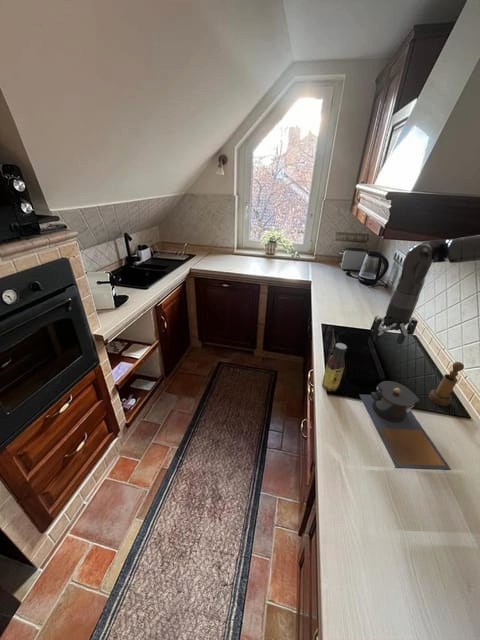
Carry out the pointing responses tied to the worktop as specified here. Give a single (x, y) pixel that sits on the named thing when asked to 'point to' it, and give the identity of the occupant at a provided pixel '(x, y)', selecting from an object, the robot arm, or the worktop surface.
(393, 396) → the pot
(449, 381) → the wooden pepper mill
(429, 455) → the mat
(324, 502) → the worktop surface
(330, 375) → the sauce bottle
